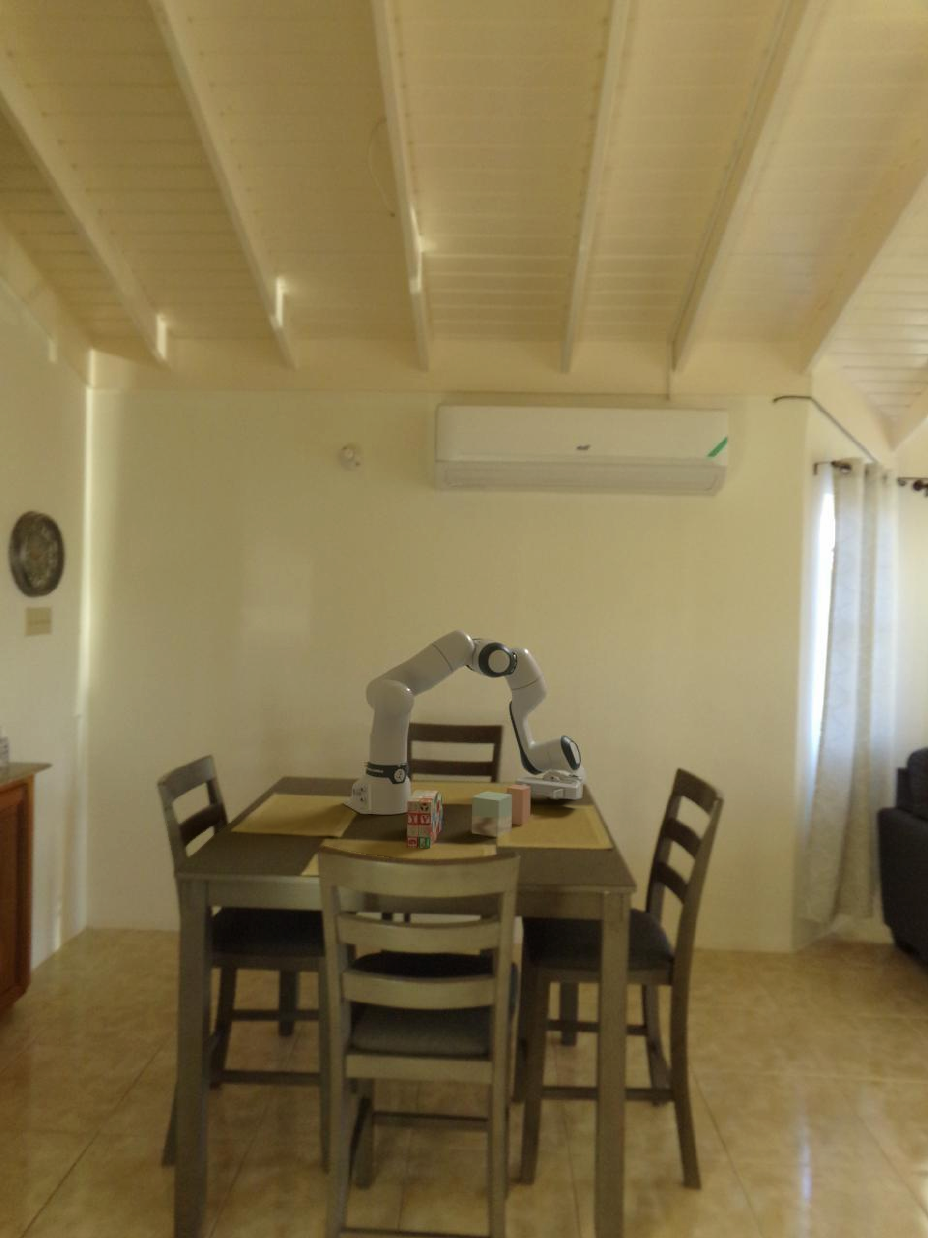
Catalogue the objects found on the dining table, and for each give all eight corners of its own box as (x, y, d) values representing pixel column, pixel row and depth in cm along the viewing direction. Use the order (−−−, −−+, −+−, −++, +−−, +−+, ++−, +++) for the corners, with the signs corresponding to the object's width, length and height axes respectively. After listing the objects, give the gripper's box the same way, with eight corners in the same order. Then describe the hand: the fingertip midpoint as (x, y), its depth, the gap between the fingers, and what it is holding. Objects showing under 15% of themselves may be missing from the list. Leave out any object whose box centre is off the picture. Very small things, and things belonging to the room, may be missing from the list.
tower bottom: (471, 833, 253) (471, 815, 253) (485, 827, 260) (485, 809, 260) (497, 837, 249) (498, 819, 249) (511, 831, 256) (511, 813, 256)
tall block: (506, 823, 265) (506, 787, 264) (514, 819, 269) (514, 784, 268) (522, 825, 262) (522, 790, 262) (530, 821, 266) (530, 786, 266)
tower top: (472, 815, 253) (472, 796, 253) (485, 809, 260) (486, 791, 260) (498, 819, 249) (498, 800, 249) (511, 813, 256) (512, 794, 256)
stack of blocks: (420, 826, 260) (420, 782, 259) (442, 827, 259) (443, 783, 259) (406, 848, 239) (406, 800, 238) (430, 849, 238) (431, 801, 237)
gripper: (525, 770, 293) (505, 778, 281) (587, 777, 283) (569, 786, 271) (525, 790, 293) (505, 799, 281) (586, 798, 283) (568, 808, 271)
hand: (537, 793), depth 276 cm, fingers open, 8 cm apart
